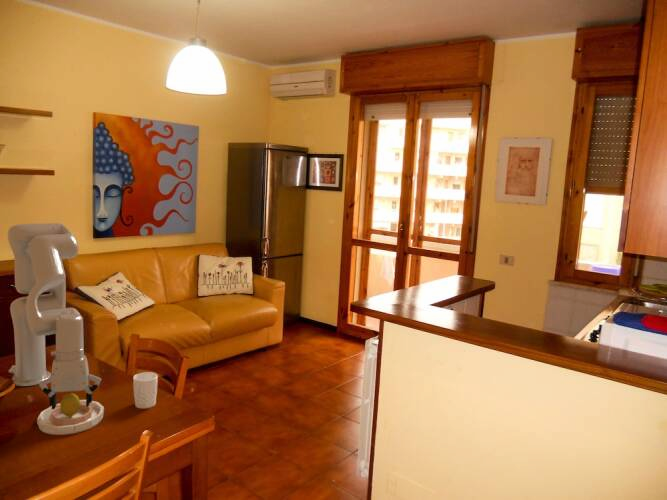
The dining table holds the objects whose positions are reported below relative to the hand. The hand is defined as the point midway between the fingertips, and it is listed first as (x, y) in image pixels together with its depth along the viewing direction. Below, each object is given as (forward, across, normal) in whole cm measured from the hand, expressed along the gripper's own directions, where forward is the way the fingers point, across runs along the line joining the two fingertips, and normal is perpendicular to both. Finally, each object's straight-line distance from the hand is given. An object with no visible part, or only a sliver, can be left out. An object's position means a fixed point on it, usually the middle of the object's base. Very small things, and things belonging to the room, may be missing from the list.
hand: (71, 405), depth 155 cm
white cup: (+5, +22, +7) cm, 23 cm away
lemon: (+4, 0, 0) cm, 4 cm away
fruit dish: (+5, 0, 0) cm, 5 cm away
